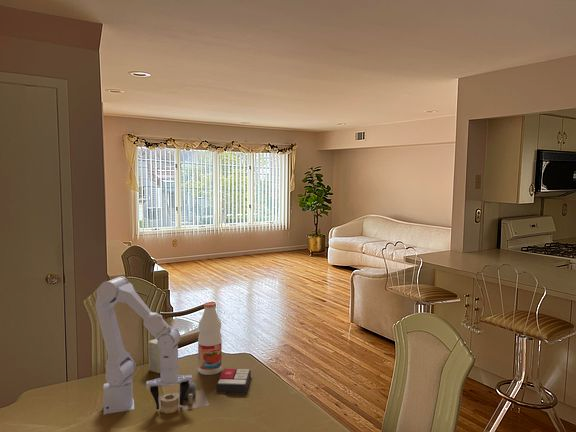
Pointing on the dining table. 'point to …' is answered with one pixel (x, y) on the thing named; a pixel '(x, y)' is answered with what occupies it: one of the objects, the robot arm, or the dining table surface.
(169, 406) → the maple gear
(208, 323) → the fruit juice
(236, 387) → the red white black box
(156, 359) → the skincare box
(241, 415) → the dining table surface
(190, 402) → the gear board
